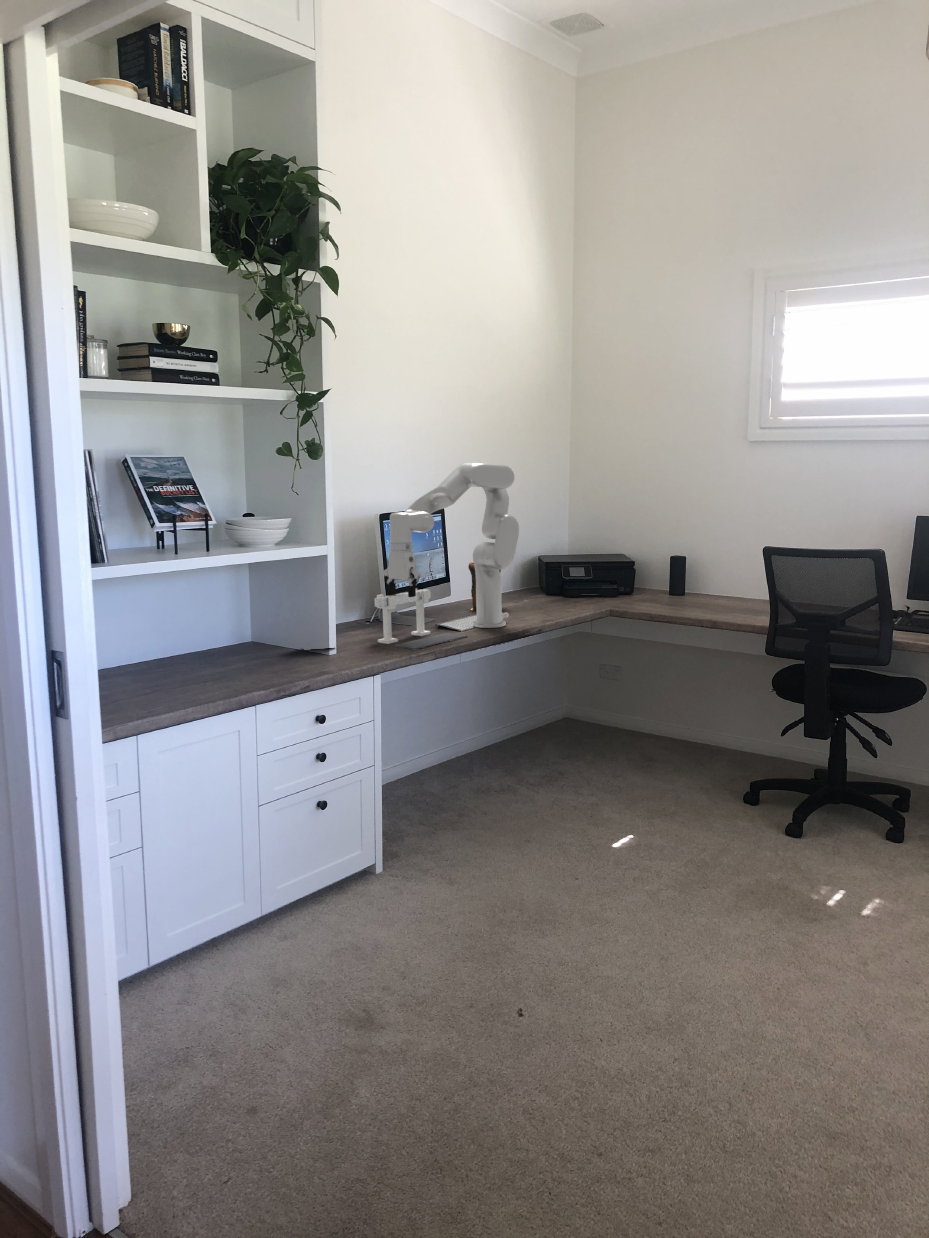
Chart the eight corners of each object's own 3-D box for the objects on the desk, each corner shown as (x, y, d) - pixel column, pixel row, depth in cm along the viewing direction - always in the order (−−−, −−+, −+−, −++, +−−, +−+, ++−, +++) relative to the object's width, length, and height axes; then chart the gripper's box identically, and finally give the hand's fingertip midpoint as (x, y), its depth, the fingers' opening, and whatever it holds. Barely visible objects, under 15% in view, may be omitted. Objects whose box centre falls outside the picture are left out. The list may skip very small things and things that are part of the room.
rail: (423, 597, 349) (423, 589, 348) (430, 598, 347) (430, 589, 346) (374, 606, 330) (374, 598, 330) (381, 607, 328) (381, 598, 328)
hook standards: (418, 632, 351) (417, 588, 348) (432, 634, 347) (431, 589, 344) (375, 642, 335) (373, 595, 332) (389, 644, 330) (388, 597, 327)
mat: (446, 634, 346) (446, 632, 346) (467, 637, 339) (467, 635, 339) (394, 646, 325) (394, 645, 325) (415, 650, 319) (415, 648, 319)
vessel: (507, 606, 404) (505, 560, 401) (500, 613, 391) (498, 564, 387) (474, 606, 408) (472, 560, 404) (466, 612, 394) (464, 564, 391)
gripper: (426, 548, 332) (427, 596, 335) (391, 545, 343) (392, 592, 346) (411, 549, 327) (412, 598, 329) (376, 547, 338) (377, 594, 341)
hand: (402, 595), depth 338 cm, fingers open, 9 cm apart
